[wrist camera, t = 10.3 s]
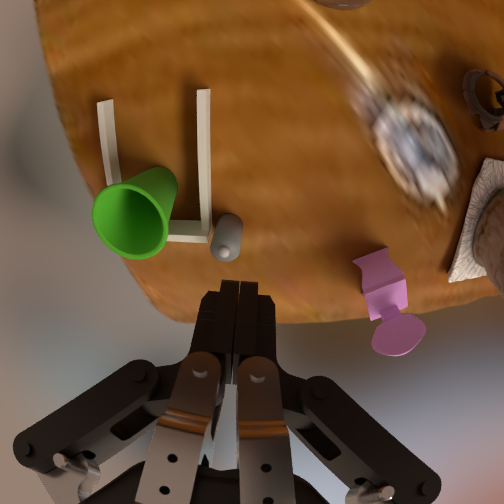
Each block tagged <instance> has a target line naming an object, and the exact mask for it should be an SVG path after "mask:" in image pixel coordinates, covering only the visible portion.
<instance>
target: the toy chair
mask: <svg viewBox="0 0 504 504" xmlns="http://www.w3.org/2000/svg"><path fill="white" fill-rule="evenodd" d="M352 262H353V263H355V264H356V265H358V266H359V267H360V268H361V269H362V289H363V293H362V295H363V296H364V297H365V300H366V304H367V308H368V312H369V317H370V320H371V321H372V320H374V319H377V318H379V317H382V320H383V323H382V324H381V325H380V326H378V327H377V328H376V331H375V334H374V336H373V339H372V348H373V349H374V350H375V351H376V352H378V353H380V354H384V355H389V356H400V355H403V354H406V353H408V352H409V351H411V350H412V349H413V348H414V347H415V346H416V345H417V344H418V343H419V342H420V341H421V339H422V338H423V336H424V334H425V331H426V328H425V325H424V323H423V322H422V321H421V320H419V319H418V318H416V317H415V316H413V315H412V314H407V315H401V313H400V311H399V310H401V309H403V308H406V307H408V301H407V291H406V278H405V277H404V275H403V272H402V270H401V269H400V268H399V267H398V266H397V265H395V264H394V263H393V262H392V261H391V260H390V258H389V256H388V247H386V248H384V249H381V250H379V251H376V252H373V253H371V254H368V255H366V256H363V257H360V258H358V259H355V260H352Z"/></svg>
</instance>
